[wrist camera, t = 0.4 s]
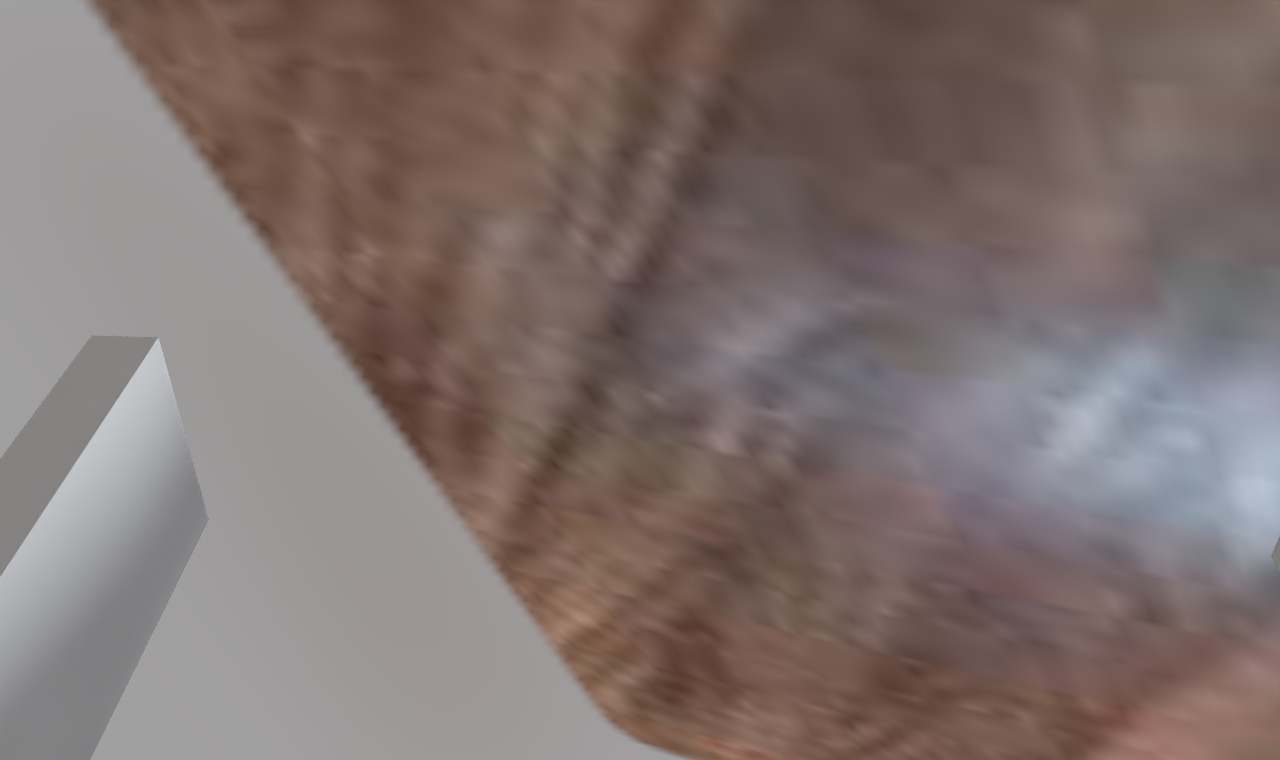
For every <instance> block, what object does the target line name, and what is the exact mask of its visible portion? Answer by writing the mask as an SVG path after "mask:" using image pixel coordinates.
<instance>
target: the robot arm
mask: <svg viewBox="0 0 1280 760" xmlns="http://www.w3.org/2000/svg"><path fill="white" fill-rule="evenodd" d="M208 520H209V519H208V516H207V512H206V508H205V505H204V501H203V497H202V494H201V490H200V486H199V483H198V479H197V476H196V472H195V468H194V465H193V461H192V458H191V454H190V450H189V447H188V443H187V439H186V436H185V432H184V429H183V425H182V421H181V418H180V414H179V411H178V407H177V403H176V400H175V396H174V393H173V389H172V386H171V382H170V378H169V374H168V371H167V367H166V364H165V360H164V356H163V353H162V349H161V345H160V342H159V338H158V337H123V336H120V337H119V336H91V337H90V339H89V340H88V341H87V343H86V344H85V345H84V347H83V348H82V349H81V351H80V352H79V353H78V355H77V356H76V357H75V359H74V360H73V362H72V363H71V364H70V366H69V367H68V368H67V370H66V371H65V372H64V374H63V375H62V376H61V378H60V379H59V380H58V382H57V383H56V384H55V386H54V387H53V389H52V390H51V391H50V392H49V394H48V395H47V397H46V398H45V399H44V401H43V402H42V403H41V405H40V406H39V407H38V409H37V410H36V411H35V413H34V414H33V416H32V417H31V418H30V419H29V421H28V422H27V424H26V425H25V426H24V428H23V429H22V430H21V432H20V433H19V435H18V436H17V437H16V438H15V440H14V441H13V442H12V444H11V445H10V446H9V448H8V449H7V451H6V452H5V453H4V455H3V456H2V457H1V459H0V760H90V759H91V756H92V755H93V753H94V751H95V749H96V746H97V745H98V743H99V740H100V738H101V736H102V734H103V732H104V730H105V728H106V726H107V724H108V722H109V720H110V718H111V716H112V714H113V712H114V710H115V708H116V706H117V704H118V702H119V700H120V698H121V696H122V694H123V691H124V690H125V688H126V686H127V684H128V682H129V680H130V678H131V675H132V674H133V671H134V670H135V667H136V666H137V664H138V661H139V659H140V657H141V655H142V653H143V651H144V649H145V647H146V645H147V643H148V641H149V639H150V637H151V635H152V633H153V631H154V629H155V627H156V625H157V623H158V621H159V619H160V617H161V615H162V613H163V611H164V609H165V607H166V605H167V603H168V601H169V598H170V597H171V595H172V593H173V591H174V588H175V587H176V585H177V583H178V580H179V578H180V576H181V574H182V572H183V570H184V568H185V566H186V564H187V562H188V560H189V558H190V556H191V554H192V552H193V550H194V548H195V546H196V544H197V542H198V540H199V538H200V536H201V534H202V532H203V530H204V528H205V526H206V524H207V521H208ZM1272 558H1273V560H1274V562H1275V564H1276V566H1277V568H1278V570H1279V572H1280V537H1279V539H1278V542H1277V544H1276V546H1275V549H1274V551H1273V554H1272Z"/></svg>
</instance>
